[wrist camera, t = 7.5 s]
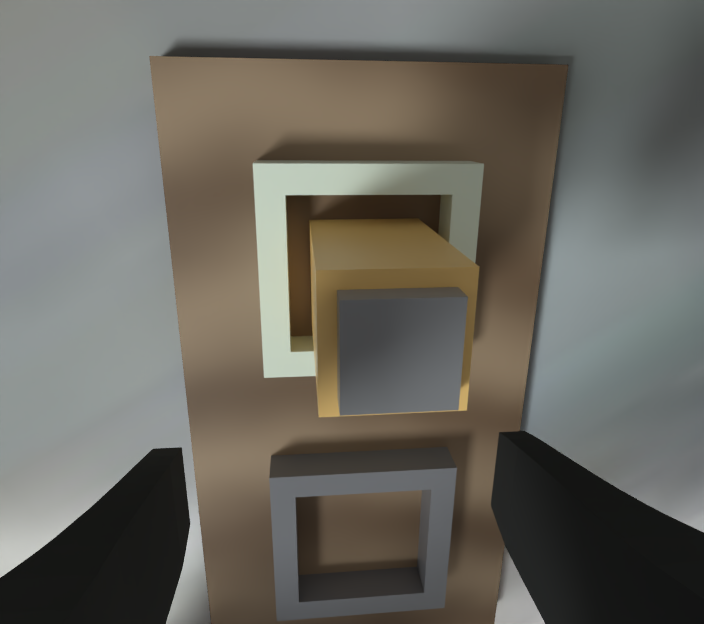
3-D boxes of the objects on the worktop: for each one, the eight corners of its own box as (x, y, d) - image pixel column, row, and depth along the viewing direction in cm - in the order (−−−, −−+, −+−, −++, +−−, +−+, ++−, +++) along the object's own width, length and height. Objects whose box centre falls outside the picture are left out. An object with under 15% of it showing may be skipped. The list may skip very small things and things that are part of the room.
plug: (413, 319, 21) (476, 426, 14) (311, 323, 20) (319, 433, 13) (418, 218, 19) (490, 276, 12) (309, 219, 19) (317, 279, 12)
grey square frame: (436, 581, 26) (444, 607, 24) (278, 593, 25) (276, 621, 23) (447, 446, 23) (456, 467, 22) (270, 455, 22) (269, 477, 21)
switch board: (487, 608, 28) (493, 625, 27) (216, 629, 27) (213, 648, 26) (555, 67, 19) (568, 64, 18) (157, 59, 18) (149, 56, 17)
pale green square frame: (454, 354, 22) (465, 370, 20) (266, 360, 21) (264, 377, 19) (470, 160, 19) (484, 164, 18) (255, 160, 18) (252, 163, 17)
